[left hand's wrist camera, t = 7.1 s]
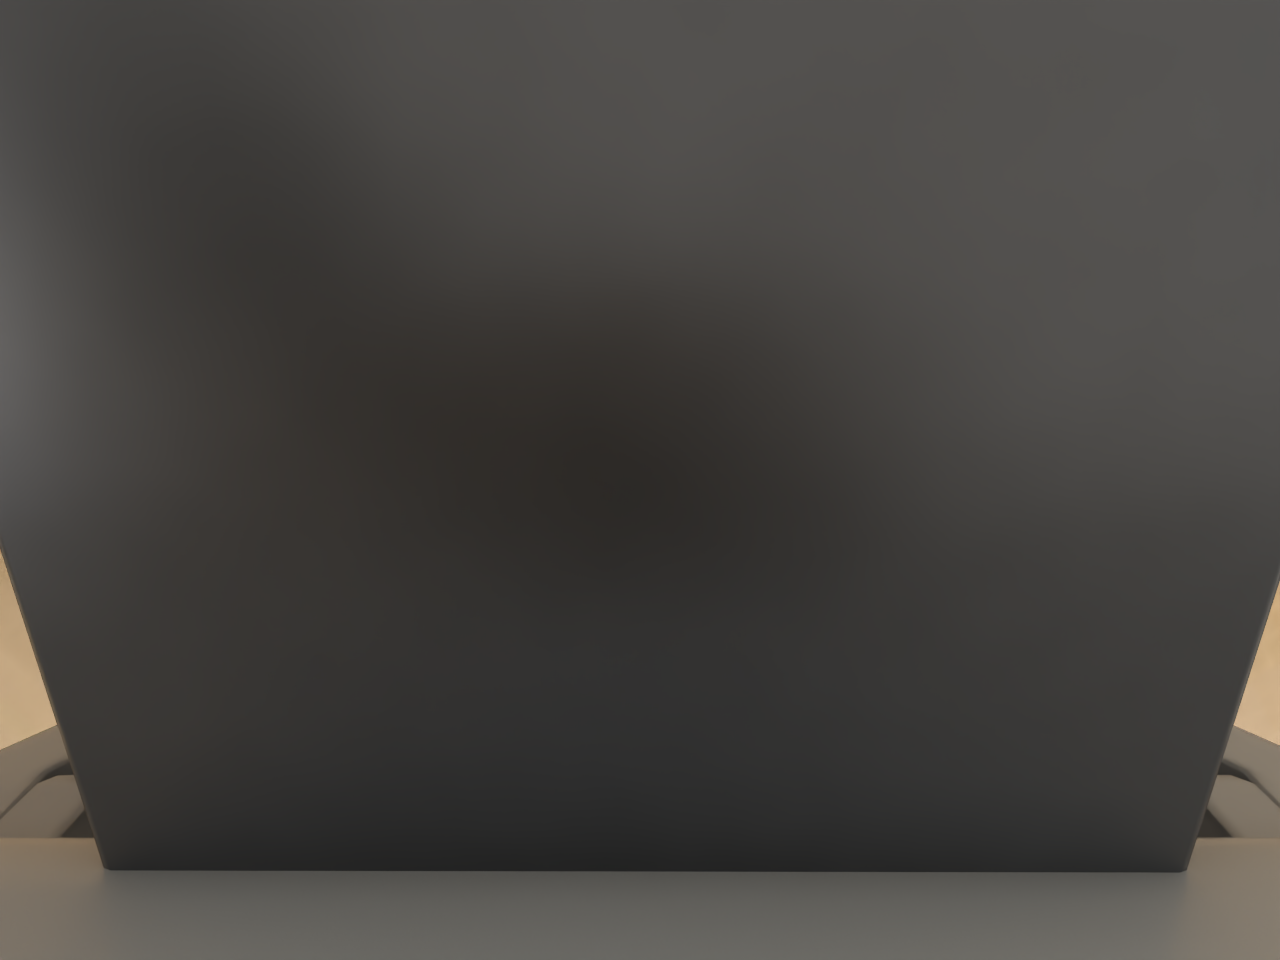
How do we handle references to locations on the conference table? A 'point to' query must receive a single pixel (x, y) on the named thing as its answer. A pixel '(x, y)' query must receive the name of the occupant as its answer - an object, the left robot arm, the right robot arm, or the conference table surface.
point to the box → (641, 426)
